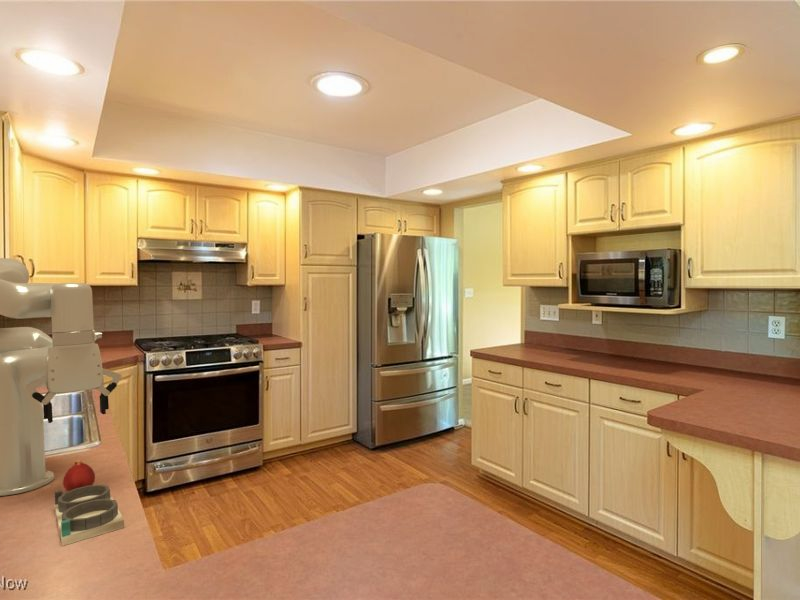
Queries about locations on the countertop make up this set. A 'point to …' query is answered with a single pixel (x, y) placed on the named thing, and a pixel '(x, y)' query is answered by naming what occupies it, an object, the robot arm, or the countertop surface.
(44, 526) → the countertop surface
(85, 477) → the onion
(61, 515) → the cream flat ringed piece
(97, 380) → the robot arm
